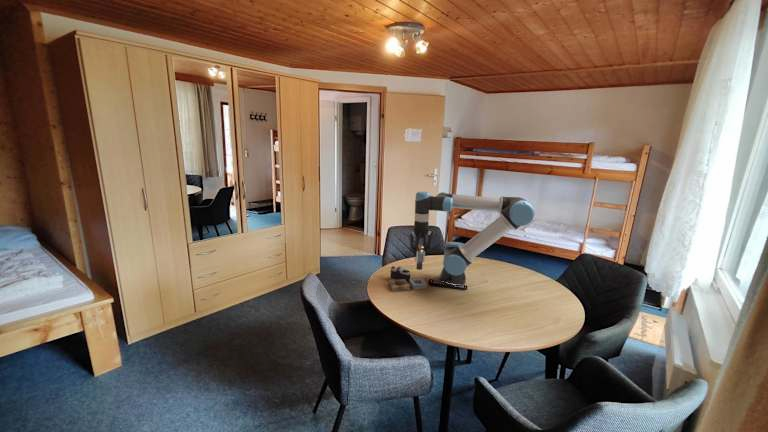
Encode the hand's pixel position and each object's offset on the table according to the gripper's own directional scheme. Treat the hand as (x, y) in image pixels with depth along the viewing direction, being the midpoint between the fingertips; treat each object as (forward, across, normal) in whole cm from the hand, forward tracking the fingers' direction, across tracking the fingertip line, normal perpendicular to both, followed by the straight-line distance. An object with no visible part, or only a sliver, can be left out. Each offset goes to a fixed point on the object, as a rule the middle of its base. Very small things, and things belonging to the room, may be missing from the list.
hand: (419, 261), depth 181 cm
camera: (+15, +7, -11) cm, 19 cm away
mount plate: (+14, 0, 0) cm, 14 cm away
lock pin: (+4, 0, 0) cm, 4 cm away
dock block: (+14, +11, 0) cm, 18 cm away
